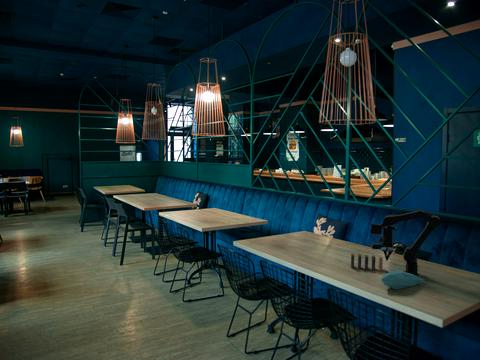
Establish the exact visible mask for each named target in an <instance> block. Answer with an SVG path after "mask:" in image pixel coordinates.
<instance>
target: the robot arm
mask: <svg viewBox="0 0 480 360" xmlns="http://www.w3.org/2000/svg"><path fill="white" fill-rule="evenodd" d="M418 218H420V219H423V220H425V221H426V222H427V223H426V225H425V228H424V229H423V230H422V232H421V233H420V234H419V236H418V237H417V239H415V242H414V243H413V244H412V245H411V246H407V247H406V248H405V247H404V245H403V244H396V245H393V243H394V241H393V240H394V231H396V230H397V227H396V226H395V225H396V224H398V223H400V222H405V221H410V220H413V219H418ZM440 224H441V219H440V217H439V216H438V215H432V214H430V213H428V212H426V211H424V210H422V209H418V210H415V211H412V212H407V213H403V214H391V215H390V214H389V215H386V216H385V217H384V218H383V221H382V222H381V223H380V224H379V223H378V224H377V223H371V225H370V235H374V236H375V235H376V236H379V237H378V242H371V246H370V247H371V249H372V250H379V249H380V251H382V252H383V254H384V258H385V261H386V262H387V261H389V259H390V257H391V255H392V253H394V252H395V250H398V252H403V260H404V261H405V270H404V271H403V272H406V273H410V274H413V275H415V276H419V275H420V273H418V272H419V268H418V267H419V265H418V258H417V257H416V255H417V252H418V251H419V249H420V247H421V246H422V245H423V243H424V242H425V241H426V240H427V238H428V237H429V236H430V234H431V233H432V232H433V231H434V230H436V229H437V228H438V227H439V226H440ZM382 234H383V235H382ZM380 235H382V237H380ZM379 243H380V244H379Z"/></svg>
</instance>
